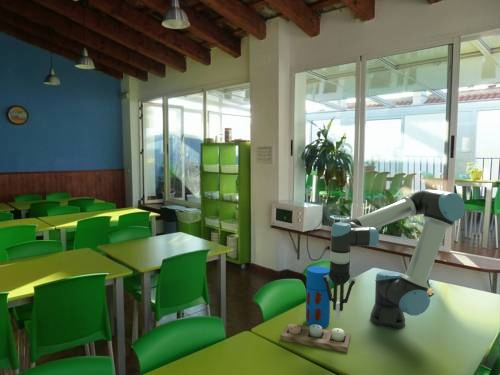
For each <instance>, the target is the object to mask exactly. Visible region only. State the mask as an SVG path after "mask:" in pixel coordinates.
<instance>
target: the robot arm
mask: <svg viewBox="0 0 500 375" xmlns="http://www.w3.org/2000/svg"><path fill="white" fill-rule="evenodd" d="M465 210H466V204H465V202H464V199H463V198H462V196H461V195H460V194H458V193H455V192H452V191H449V190H437V189H431V188H427V189H422V190H419V191H416V192H413V193H411V194H407V195H406V196H403V197H402V198H401V200H399V201H397V202H394V203H391V204H389V205H386V206H383V207H381V208H377V209H376V210H373V211H370V212H368V213H366V214H363V215H361V216H357V217H356V218H353V219H350V220H343V219H342V220H340V221H339V222H333V223H332V225H331V230H330V254H329V256H330V259H329V260H330V262H329V269H330V272H329V274H328V275H326V276H324V277H323V280H324V282H325V284H326V289H327V293H328V298H329V300H330V302H331V303H332V309H333V311H335V318H334V319H335V320H340V318H341V312H343V310H344V304H348V301H349V298H350V295H351V291H352V287H353V286H354V285H355V284H356V279H354V278H352V277H351V274H350V258H351V257H350V255H351V247H353V248H354V247H373V246H376V245H377V244H378V243H379V241H380V234H379V230H377V229H378V228H381V227H384V226H385V225H389V224H391V223H394V222H396V221H399V220H401V219H404V218H406V217H416V216H418V215H419V216H420V215H422V216H423V217H422V218H423V220H424V224H423V227H422V229H421V232H420V234H419V237H418V240H417V242H416V245H415V248H414V250H413V253H412V256H411V258H410V261H409V264H408V267H407V268H406V272H405V273H404V274H403V273H400V272H397V271H380V272H377V274H376V275H375V294H374V305H373V307H372V310H371V312H370V321H371V322H372V323H373V324H374V325H376V326H379V327H381V328H385V329H386V328H387V329H401V328H403V327H405V326H406V317H405V314H407V315H410V316H412V317H413V316H415V317H416V316H420V315H422V314H424V313H425V312H426V311H427V310H428V308H429V306H430V303H431V298H430V295H428V294H427V291H428V288H429V287H428V285H427V279H428V277H430V273H431V271H432V269H433V266H434V263H435V261H436V258H437V255H438V253H439V250H440V247H441V245H442V242H443V240H444V237H445V236H446V232H447V229H449V228H452V227H453V225H454V224H455V223H454V222H458V221H459V220H460V219H462V218H463V216H464V214H465ZM329 277H330V279H331V282H332V283H333V292H332V288H331V283H329ZM347 282H348V284H349V285H348V289H347V292H346V294H344V292H345V285H346V283H347ZM338 285H339V286H338ZM338 287H339V300H338ZM344 295H345V296H344ZM344 297H345V298H344ZM337 300H338V301H337Z"/></svg>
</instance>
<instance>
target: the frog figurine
mask: <svg viewBox="0 0 500 375" xmlns="http://www.w3.org/2000/svg"><path fill="white" fill-rule="evenodd" d="M429 277H430V276H429ZM429 277H428V279H427V285H428V287H429V288H428V291H427V294H428V295H429V296H432V295H433V294H434V292H435V291H434V288H433V287H432V286H431V285H433V283H430V278H429Z"/></svg>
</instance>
